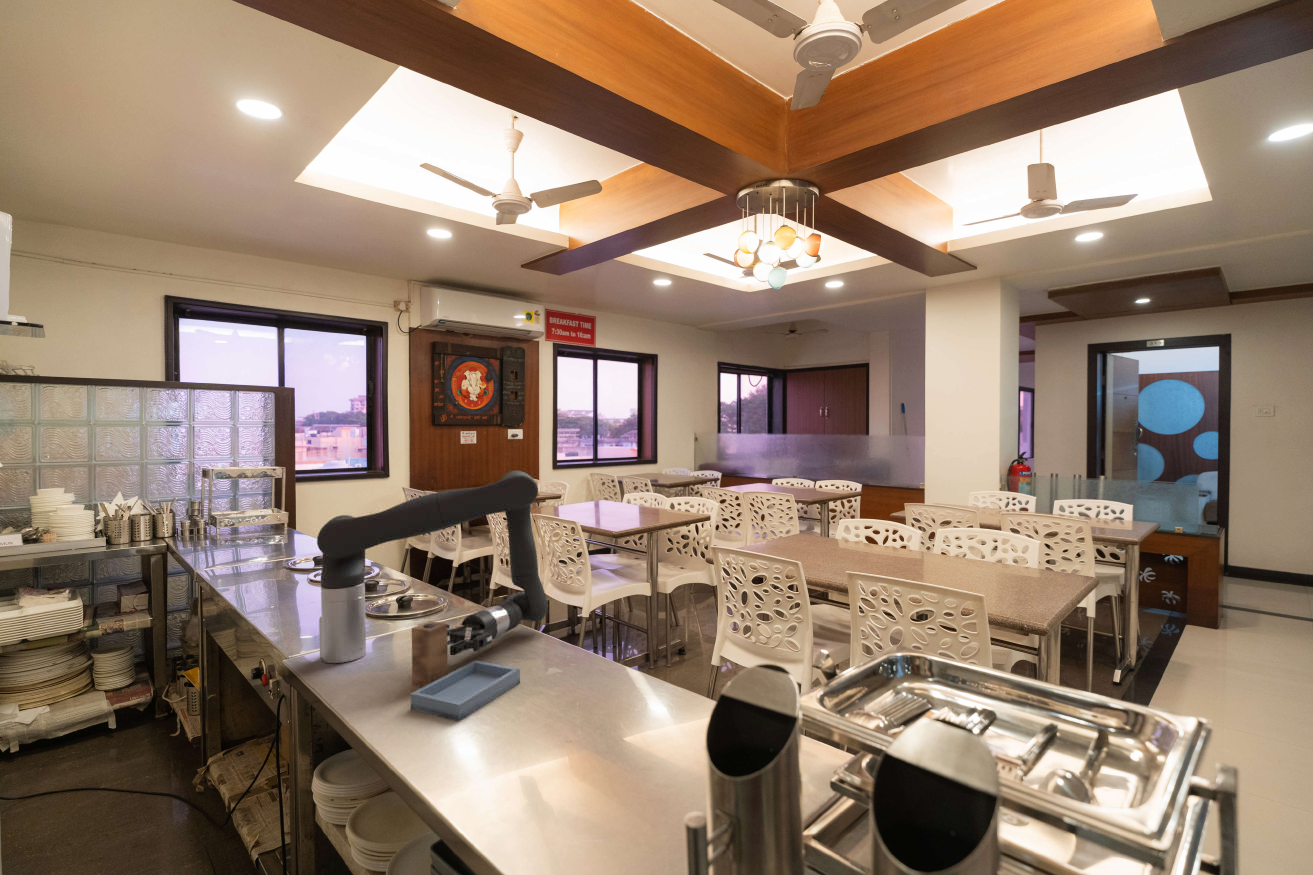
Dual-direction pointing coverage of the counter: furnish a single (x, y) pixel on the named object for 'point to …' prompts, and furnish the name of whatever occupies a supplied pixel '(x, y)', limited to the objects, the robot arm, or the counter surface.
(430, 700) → the slate tray
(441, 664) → the walnut block
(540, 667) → the counter surface
